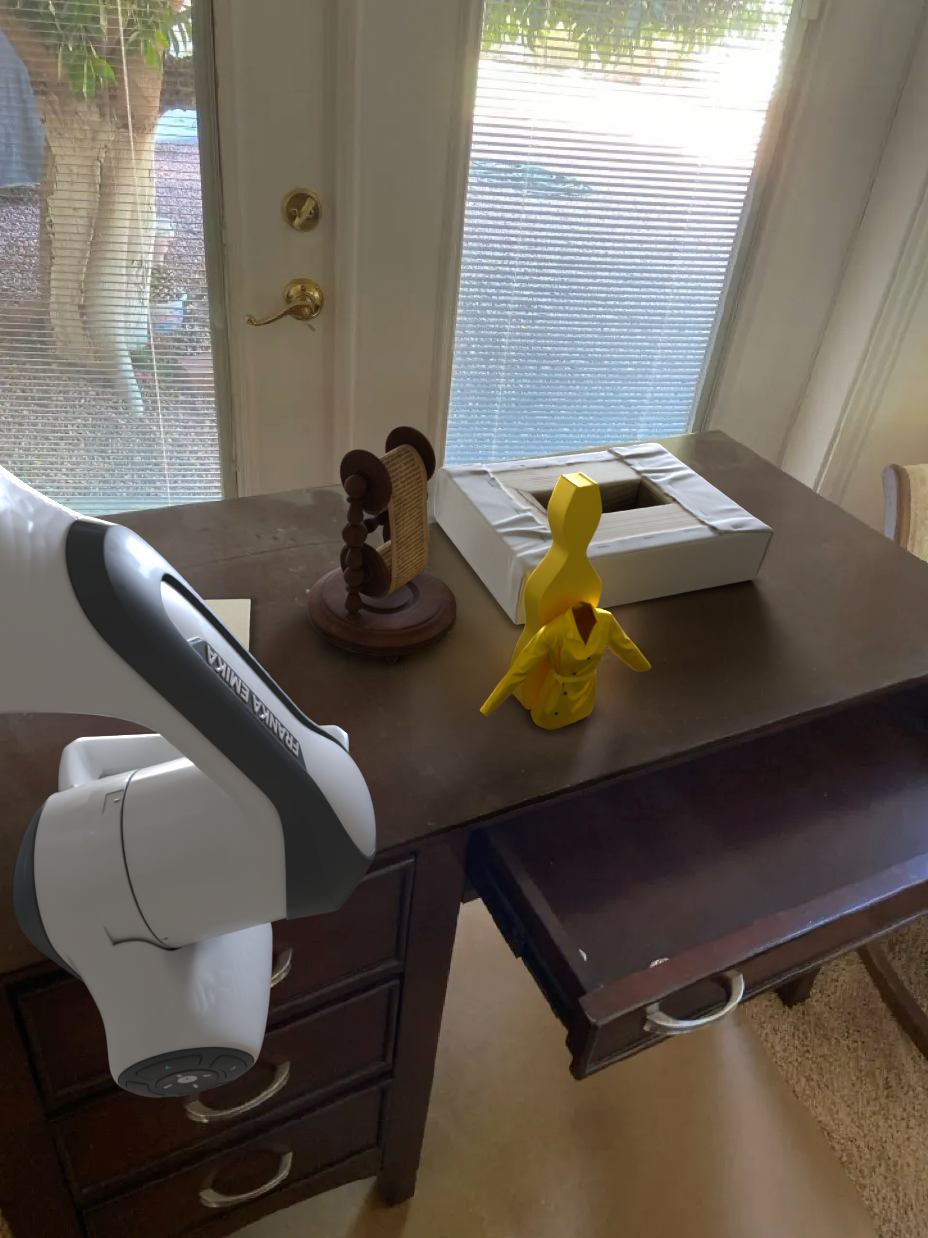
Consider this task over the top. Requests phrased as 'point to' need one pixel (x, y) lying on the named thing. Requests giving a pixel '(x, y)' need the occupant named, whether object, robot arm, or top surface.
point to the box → (601, 525)
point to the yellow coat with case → (564, 618)
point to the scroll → (385, 557)
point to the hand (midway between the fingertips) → (215, 704)
